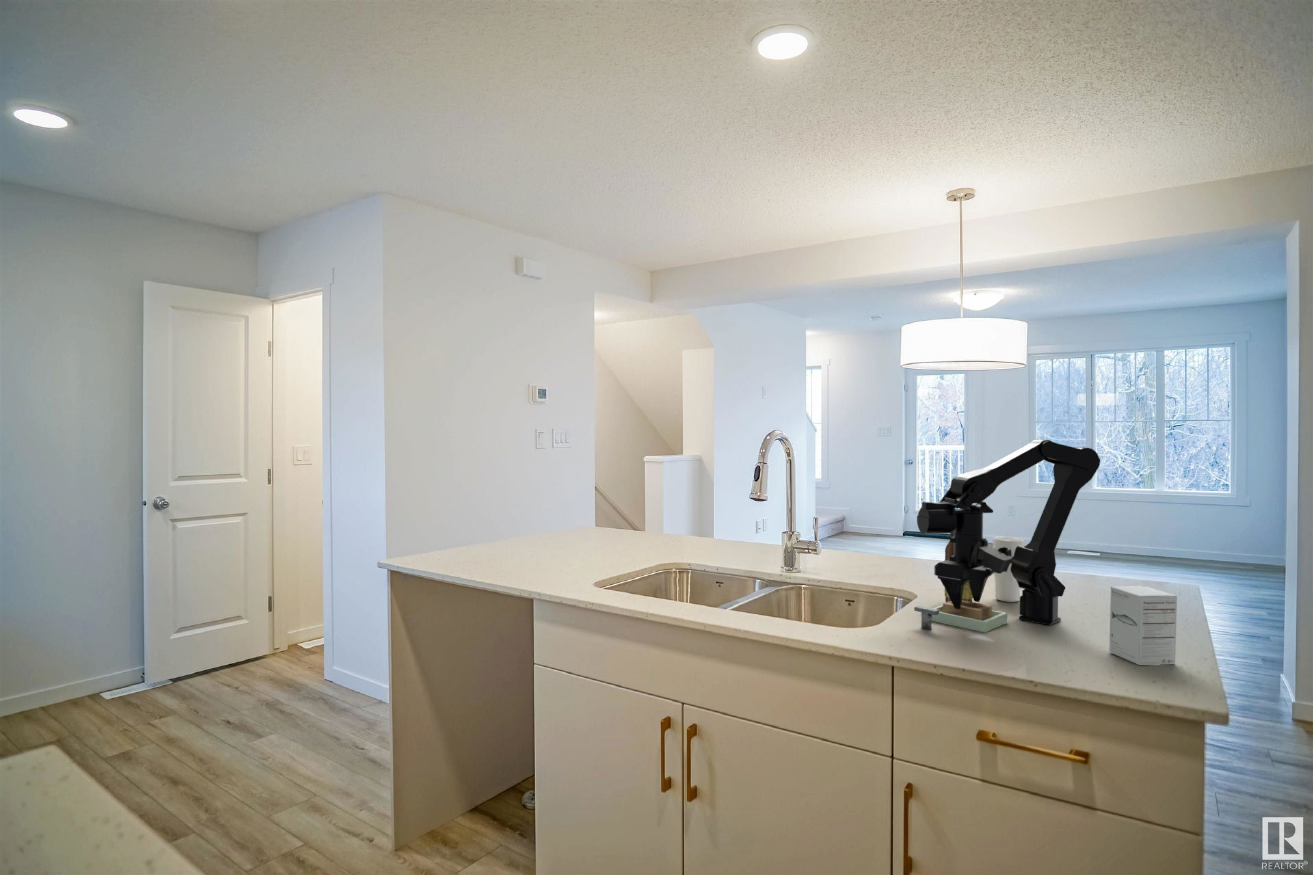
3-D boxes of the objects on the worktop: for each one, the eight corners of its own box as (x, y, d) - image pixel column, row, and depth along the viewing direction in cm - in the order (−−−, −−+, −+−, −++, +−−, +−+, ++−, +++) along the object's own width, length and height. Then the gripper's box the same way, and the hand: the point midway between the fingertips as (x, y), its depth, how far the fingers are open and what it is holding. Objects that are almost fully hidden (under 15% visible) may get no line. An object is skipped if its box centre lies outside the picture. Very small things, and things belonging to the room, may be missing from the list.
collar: (942, 617, 152) (943, 603, 152) (956, 612, 156) (956, 598, 156) (978, 624, 146) (979, 610, 146) (991, 619, 150) (991, 605, 150)
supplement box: (1107, 652, 130) (1108, 585, 130) (1144, 651, 131) (1145, 585, 131) (1138, 666, 123) (1139, 595, 123) (1177, 665, 124) (1178, 594, 123)
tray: (1007, 622, 150) (1007, 612, 150) (984, 632, 143) (985, 622, 143) (950, 610, 159) (950, 601, 159) (927, 619, 152) (927, 609, 152)
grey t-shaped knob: (939, 630, 144) (939, 609, 144) (934, 631, 143) (934, 611, 143) (918, 625, 148) (918, 605, 148) (913, 626, 146) (913, 607, 146)
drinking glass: (993, 601, 168) (993, 539, 168) (991, 595, 174) (991, 535, 174) (1024, 604, 165) (1025, 541, 165) (1021, 598, 172) (1022, 537, 171)
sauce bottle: (975, 608, 162) (977, 522, 161) (947, 606, 163) (948, 522, 163) (969, 601, 168) (970, 519, 168) (941, 599, 169) (942, 518, 169)
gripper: (987, 542, 139) (986, 620, 139) (1024, 533, 151) (1023, 605, 151) (933, 535, 147) (932, 609, 147) (973, 527, 159) (972, 595, 159)
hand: (967, 605), depth 151 cm, fingers open, 9 cm apart
